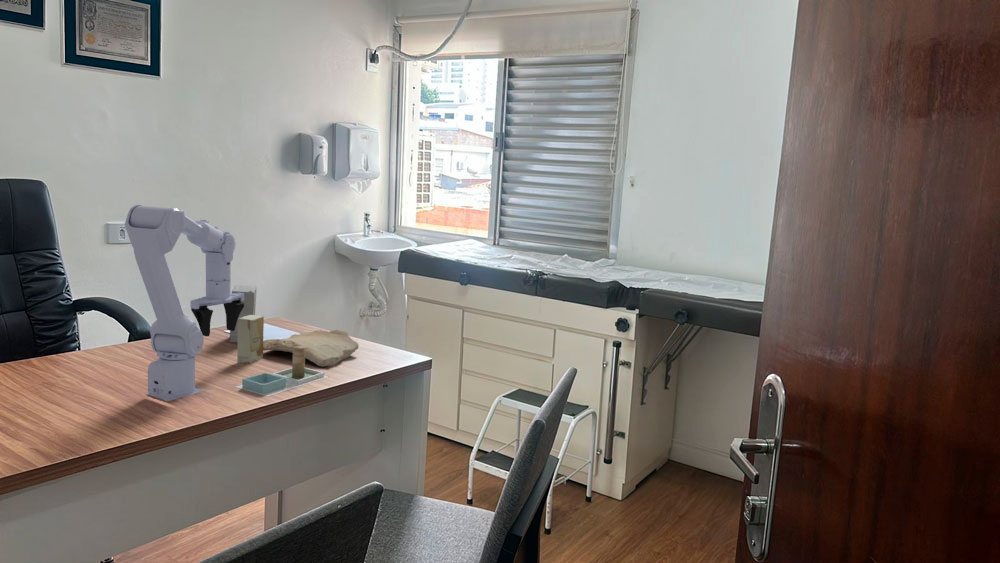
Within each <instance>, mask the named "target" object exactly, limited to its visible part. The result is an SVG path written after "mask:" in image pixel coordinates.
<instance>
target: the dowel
mask: <svg viewBox="0 0 1000 563" xmlns="http://www.w3.org/2000/svg"><path fill="white" fill-rule="evenodd" d="M291 365H292V367H291V368H292V377H293V378H303V377H305V368H306V358H305V347H303V346H295V347H293V353H292V364H291Z"/></svg>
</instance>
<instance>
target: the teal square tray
mask: <svg viewBox="0 0 1000 563" xmlns="http://www.w3.org/2000/svg"><path fill="white" fill-rule="evenodd" d="M241 380H242V381H241V382H242V383H241V385H242V388H244V389H247V390H251V391H254V392H257V393H261V394H266V393H269V392H272V391H275V390H278V389H281V388H284V387H286V378H284V377H280V376H277V375H273V374H272V373H269V372H261V373H259V374H255V375H250V376H248V377H245V378H242V379H241ZM263 382H267V383H266V384H261V383H263ZM257 393H256V394H257Z"/></svg>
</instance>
